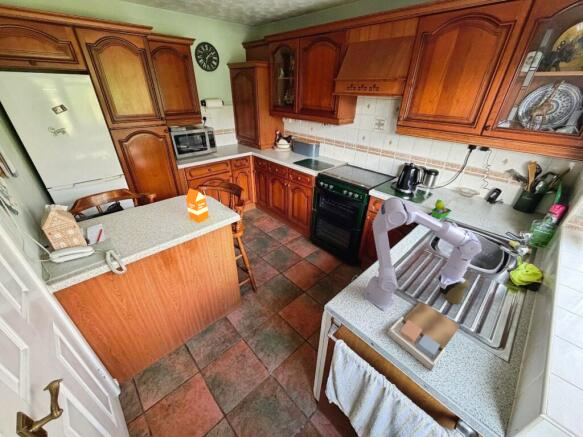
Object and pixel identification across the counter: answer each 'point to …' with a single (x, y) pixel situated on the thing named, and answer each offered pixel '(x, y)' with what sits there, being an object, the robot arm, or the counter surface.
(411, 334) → the terracotta tile
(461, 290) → the olive lobed plate
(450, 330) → the oak board
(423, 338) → the slate tile
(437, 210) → the fruit basket
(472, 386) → the counter surface
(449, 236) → the robot arm
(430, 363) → the tray
